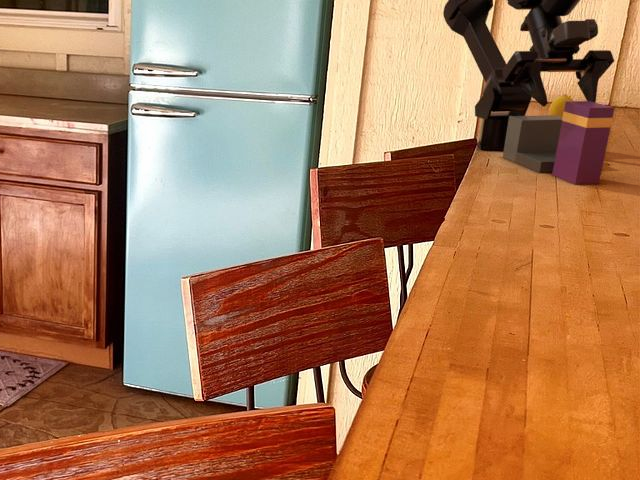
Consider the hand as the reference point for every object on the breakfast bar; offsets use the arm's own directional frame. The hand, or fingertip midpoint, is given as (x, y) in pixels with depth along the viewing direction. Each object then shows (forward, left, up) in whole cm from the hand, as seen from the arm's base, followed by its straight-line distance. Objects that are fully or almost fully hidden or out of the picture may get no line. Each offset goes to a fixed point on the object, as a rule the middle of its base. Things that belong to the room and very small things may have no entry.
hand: (569, 104), depth 158 cm
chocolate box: (+2, -6, -12) cm, 14 cm away
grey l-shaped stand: (-1, +7, -12) cm, 14 cm away
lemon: (+10, +47, -12) cm, 49 cm away
